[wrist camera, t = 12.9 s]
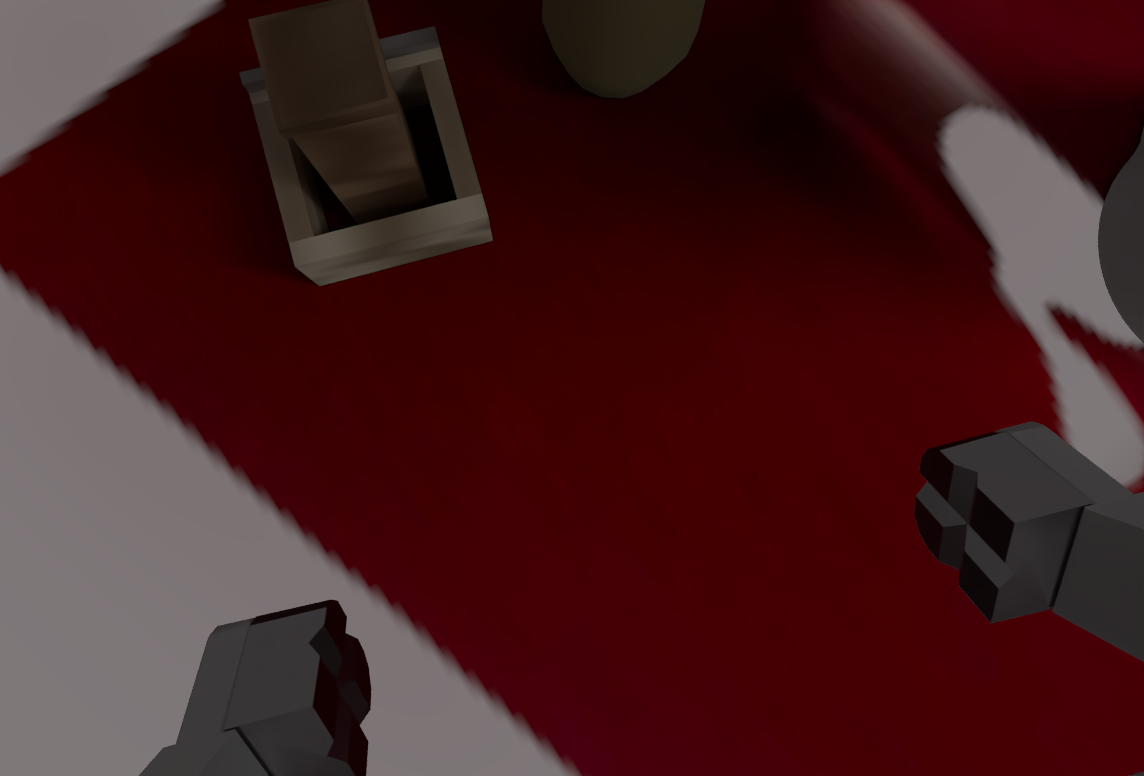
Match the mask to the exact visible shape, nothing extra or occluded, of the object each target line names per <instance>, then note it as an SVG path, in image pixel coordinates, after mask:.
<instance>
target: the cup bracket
mask: <svg viewBox="0 0 1144 776" xmlns="http://www.w3.org/2000/svg"><path fill="white" fill-rule="evenodd" d="M379 41H380V45H381V49H382V52H383V56H384V59H385V63H386V67H387V69H388V72H389V75H390V77H391V80H392V83H393V85H394V88H395V91H396V93H397V96H398V99H399V101H400V104H401V107H402V109H403V110H405V109H409V108H413V107H417V106H422V105H426V104H431V107H432V111H433V114H434V118H435V122H436V125H437V129H438V132H439V136H440V139H441V143H442V146H443V150H444V154H445V157H446V161H447V164H448V168H449V171H450V175H451V178H452V182H453V185H454V189H455V193H456V196H457V200H454V201H450V202H446V203H442V204H438V205H434V206H431V207H427V208H423V209H419V210H415V211H411V212H407V213H403V214H399V215H396V216H392V217H388V218H384V219H380V220H376V221H372V222H368V223H364V224H361V225H357V226H353V227H349V228H345V229H341V230H337V231H333V232H329V230H328V226H327V222H326V218H325V215H324V211H323V207H322V203H321V200H320V196H319V192H318V189H317V185H316V181H315V177H314V174H313V170H312V166H311V163H310V161H309V159H308V158H307V157H306V155H305V154H304V153H303V151H302V150H301V149H300V148H299V146H298V145H297V144H296V142H295V141H294V140H293V138H291V139H287V140H285V139H284V138H283V137H282V136H281V134H280V133H279V132H278V130H277V126H276V122H275V119H274V115H273V111H272V107H271V104H270V100H269V96H268V92H267V89H266V85H265V81H264V77H263V74H262V70H261V68H256V69H252V70H248V71H244V72H239V74H240V77H241V81H242V85H243V86H244V87H245V88H246V90H247V91H248V92H249V95H250V99H251V102H252V106H253V110H254V114H255V117H256V121H257V125H258V129H259V133H260V136H261V140H262V144H263V148H264V151H265V155H266V159H267V163H268V167H269V170H270V174H271V178H272V182H273V185H274V189H275V193H276V197H277V201H278V204H279V208H280V212H281V216H282V220H283V223H284V227H285V231H286V235H287V238H288V242H289V246H290V250H291V254H292V257H293V261H294V265H295V267H296V268H297V269H298V270H300V271H301V272H302V273H303V274H305V275H306V276H307V277H309V278H310V279H311V280H312V281H314V282H315V283H316V284H318V285H319V286H322V285H326V284H329V283H333V282H337V281H341V280H345V279H348V278H352V277H356V276H360V275H364V274H367V273H371V272H375V271H379V270H383V269H387V268H390V267H394V266H398V265H402V264H406V263H409V262H413V261H417V260H421V259H425V258H428V257H432V256H436V255H440V254H444V253H447V252H451V251H455V250H459V249H463V248H466V247H470V246H474V245H478V244H482V243H485V242H489V241H493V240H492V235H491V229H490V223H489V218H488V214H487V210H486V207H485V203H484V200H483V196H482V193H481V189H480V186H479V182H478V179H477V175H476V172H475V168H474V165H473V161H472V158H471V154H470V151H469V147H468V144H467V140H466V137H465V133H464V129H463V126H462V122H461V119H460V115H459V112H458V108H457V105H456V101H455V98H454V94H453V91H452V87H451V84H450V80H449V77H448V73H447V70H446V66H445V63H444V59H443V56H442V52H441V49H440V44H439V40H438V36H437V32H436V29H435V26H434V27H429V28H425V29H421V30H417V31H412V32H408V33H404V34H400V35H396V36H391V37H387V38H383V39H379Z"/></svg>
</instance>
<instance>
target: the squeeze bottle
mask: <svg viewBox="0 0 1144 776" xmlns="http://www.w3.org/2000/svg"><path fill="white" fill-rule="evenodd" d="M704 3H705V0H543V4H542V22H543V24H544V27H545V29H546V32H547V34H548V37H549V39H550V42H551V44H552V47H553V49H554V51H555V52H556V54H557V56H558V57H559V59H560V61H561V62H562V64H563V66H564V67H565V69H566V71H567V72H568V74H569V75H570V76H571V77H572V78H573V79H574V80H575V81H576V82H577V83H578V84H579V85H580V86H581V87H582V88H583V89H585V90H587V91H589V92H591V93H594V94H596V95H598V96H600V97H606V98H625V97H628V96H631V95H634V94H637V93H640V92H642V91H644V90H645V89H647V88H648V87H649V86H651V85H652V84H654V83H655V82H657V81H658V80H660V79H661V78H662V77H664V76H665V75H666V74H667V73H668V72H670V71H671V70H672V69H673V68H674V67H675V66H676V65H677V64H678V63H680V62H681V61H682V60H683V59H684V58H685V57H686V56H687V54H688V52H689V50H690V47H691V45H692V43H693V41H694V38H695V36H696V34H697V32H698V30H699V25H700V21H701V17H702V12H703V8H704Z"/></svg>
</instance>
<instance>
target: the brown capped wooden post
mask: <svg viewBox="0 0 1144 776" xmlns="http://www.w3.org/2000/svg"><path fill="white" fill-rule="evenodd" d="M248 21H249V25H250V28H251V32H252V36H253V40H254V43H255V47H256V51H257V55H258V58H259V62H260V66H261V70H262V74H263V77H264V81H265V85H266V89H267V92H268V96H269V100H270V104H271V107H272V111H273V115H274V119H275V122H276V126H277V130H278V132H279V133H280V134H281V136H282V137H283V138H284V139H285V140H287V139H291V138H293V140H294V141H295V142H296V144H297V145H298V146H299V148H300V149H301V150H302V151H303V153H304V154H305V155H306V157H307V158H308V159H309V161H310V162H311V163H312V165H313V166H314V167H315V168H316V170H317V171H318V172H319V174H320V175H321V176H322V178H323V179H324V180H325V182H326V183H327V184H328V185H329V187H330V188H331V189H332V191H333V192H334V193H335V195H336V196H337V197H338V199H339V200H340V201H341V202H342V204H343V205H344V206H345V208H346V209H347V210H348V212H349V213H350V214H351V216H352V217H353V218H354V219H355V221H356V222H357V223H358V225H361V224H364V223H368V222H372V221H376V220H380V219H384V218H388V217H392V216H396V215H399V214H403V213H407V212H411V211H415V210H419V209H423V208H427V207H431V206H432V204H431V201H430V197H429V193H428V190H427V186H426V183H425V179H424V176H423V172H422V168H421V165H420V161H419V158H418V154H417V150H416V147H415V143H414V140H413V136H412V133H411V131H410V128H409V125H408V123H407V120H406V117H405V115H404V112H403V109H402V107H401V104H400V101H399V99H398V96H397V93H396V91H395V88H394V85H393V83H392V80H391V77H390V75H389V72H388V69H387V67H386V63H385V59H384V56H383V52H382V49H381V45H380V41H379V38H378V34H377V31H376V27H375V23H374V20H373V16H372V13H371V9H370V5H369V3H368V0H330V1H326V2H322V3H317V4H313V5H309V6H304V7H300V8H296V9H291V10H287V11H283V12H278V13H274V14H270V15H265V16H261V17H257V18H252V19H248Z"/></svg>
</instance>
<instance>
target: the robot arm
mask: <svg viewBox="0 0 1144 776" xmlns="http://www.w3.org/2000/svg"><path fill="white" fill-rule="evenodd" d="M1098 248H1099V258H1100V264H1101V269H1102V273H1103V277H1104V280H1105V284H1106V287H1107V289H1108V292H1109V294H1110V296H1111V298H1112V301H1113V303H1114V304H1115V306H1116V308H1117V310H1118V312H1119V313H1120V315H1121V316H1122V318H1123V320H1124V321H1125V322H1126V323H1127V325H1128V326H1129V328H1130V329H1131V330H1132V331H1133V332H1134V333H1135V335H1136V336H1137V337H1138V338H1139V339H1140V340H1141V341H1142V342H1143V343H1144V127H1143V132H1142V136H1141V141H1140V144H1139V146H1138V148H1137V149H1136V151H1135V152H1134V154H1133V155H1132V157H1131V158H1130V159H1129V160H1128V162H1127V163H1126V164H1125V165H1124V167H1123V168H1122V169H1121V171H1120V172H1119V173H1118V175H1117V176H1116V178H1115V180H1114V181H1113V183H1112V185H1111V187H1110V189H1109V191H1108V194H1107V196H1106V199H1105V201H1104V205H1103V208H1102V212H1101V217H1100V223H1099V234H1098ZM919 472H920V473H921V474H922V476H923V477H924V478H925V479H926V480H927V481H928V482H927V483H926V484H925V485H924V487H923V488H922V489H921V490H920V492H919V493H918V494H917V495H916V500H915V513H914V515H915V519H916V522H917V526H918V530H919V533H920V535H921V537H922V539H923V541H924V542H925V544H926V546H927V548H928V549H929V550H930V551H931V553H932V554H933V555H934V556H935V557H936V559H937V560H938V561H940V562H942V563H944V564H947V565H949V566H951V567H953V568H956V569H958V570H959V586H960V587H961V589H962V590H963V591H964V592H965V593H966V595H967V596H968V597H969V598H970V599H971V600H972V602H973V603H974V604H975V605H976V606H977V607H978V609H979V610H980V611H981V612H982V613H983V615H984V616H985V617H986V618H987V619H988V620H989V622H990V623H994V622H998V621H1002V620H1006V619H1011V618H1015V617H1019V616H1023V615H1027V614H1031V613H1036V612H1040V611H1044V610H1048V609H1052V608H1053V611H1052V612H1054V613H1056V614H1057V615H1059V616H1061V617H1063V618H1065V619H1067V620H1068V621H1070V622H1072V623H1074V624H1076V625H1077V626H1079V627H1081V628H1083V629H1085V630H1087V631H1088V632H1090V633H1092V634H1094V635H1096V636H1098V637H1099V638H1101V639H1103V640H1105V641H1107V642H1109V643H1110V644H1112V645H1114V646H1116V647H1118V648H1120V649H1121V650H1123V651H1125V652H1127V653H1129V654H1130V655H1132V656H1134V657H1136V658H1138V659H1140V660H1141V661H1143V662H1144V492H1141V493H1137V494H1133V493H1132V492H1130V491H1129V490H1128V489H1126V488H1125V487H1124V486H1123V485H1121V484H1120V483H1119V482H1117V481H1116V480H1115V479H1113V478H1112V477H1111V476H1109V475H1108V474H1107V473H1106V472H1104V471H1103V470H1102V469H1100V468H1099V467H1098V466H1096V465H1095V464H1094V463H1093V462H1091V461H1090V460H1089V459H1087V458H1086V457H1085V456H1083V455H1082V454H1081V453H1080V452H1078V451H1077V450H1076V449H1074V448H1073V447H1072V446H1070V445H1069V444H1068V443H1067V442H1065V441H1064V440H1063V439H1061V438H1060V437H1059V436H1057V435H1056V434H1055V433H1054V432H1052V431H1051V430H1050V429H1048V428H1047V427H1046V426H1044V425H1042V424H1039V423H1036V422H1032V421H1031V422H1028V423H1024V424H1020V425H1016V426H1012V427H1009V428H1005V429H1001V430H997V431H996V432H990V433H986V434H982V435H979V436H975V437H971V438H967V439H963V440H959V441H956V442H952V443H948V444H944V445H940V446H937V447H933V448H929V449H927V450H926V451H925V453H924V454H923V456H922V457H921V462H920V469H919ZM346 620H347V616H346V615H345V613H344V611H343V609H342V608H341V606H340V604H339V602H338V601H336V600H327V601H323V602H319V603H314V604H310V605H305V606H301V607H296V608H292V609H288V610H283V611H279V612H274V613H270V614H266V615H261V616H257V617H256V618H252V619H248V620H243V621H239V622H234V623H229V624H225V625H220V626H217V627H216V628H215V630H214V631H213V632H212V633H211V634H210V636H209V638H208V640H207V644H206V647H205V650H204V653H203V657H202V660H201V663H200V667H199V670H198V673H197V676H196V680H195V683H194V686H193V689H192V693H191V696H190V699H189V703H188V706H187V709H186V713H185V716H184V719H183V722H182V726H181V729H180V732H179V735H178V739H177V742H176V744H175V745H172V746H168V747H165V748H163V749H162V750H161V751H160V752H159V753H158V754H157V756H156V757H155V758H154V759H153V760H152V761H151V762H150V763H149V765H148V766H147V767H146V768H145V769H144V770H143V771H142V773H141V774H140V775H139V776H366V768H367V754H368V752H367V751H368V740H367V738H366V737H365V735H364V733H363V731H362V729H361V727H360V724H361V723H362V721H363V720H364V718H365V716H366V715H367V714H368V712H369V711H370V705H371V683H370V676H369V667H368V663H367V660H366V657H365V653H364V650H363V649H362V646H361V644H360V642H359V640H358V639H357V638H355V637H353V636H351V635H348V634H346V633H345V630H346ZM1130 776H1144V772H1140V773H1137V774H1133V775H1130Z"/></svg>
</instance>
